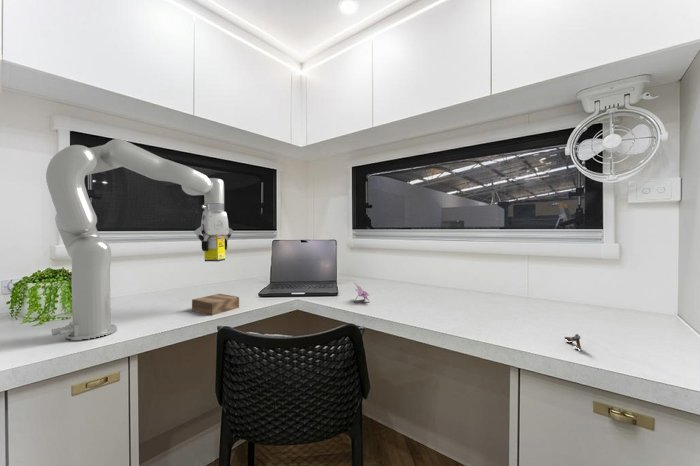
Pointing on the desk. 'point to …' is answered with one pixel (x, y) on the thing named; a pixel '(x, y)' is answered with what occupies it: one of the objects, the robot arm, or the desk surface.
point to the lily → (361, 292)
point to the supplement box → (215, 248)
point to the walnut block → (215, 304)
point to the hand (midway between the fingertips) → (214, 250)
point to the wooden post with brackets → (575, 338)
